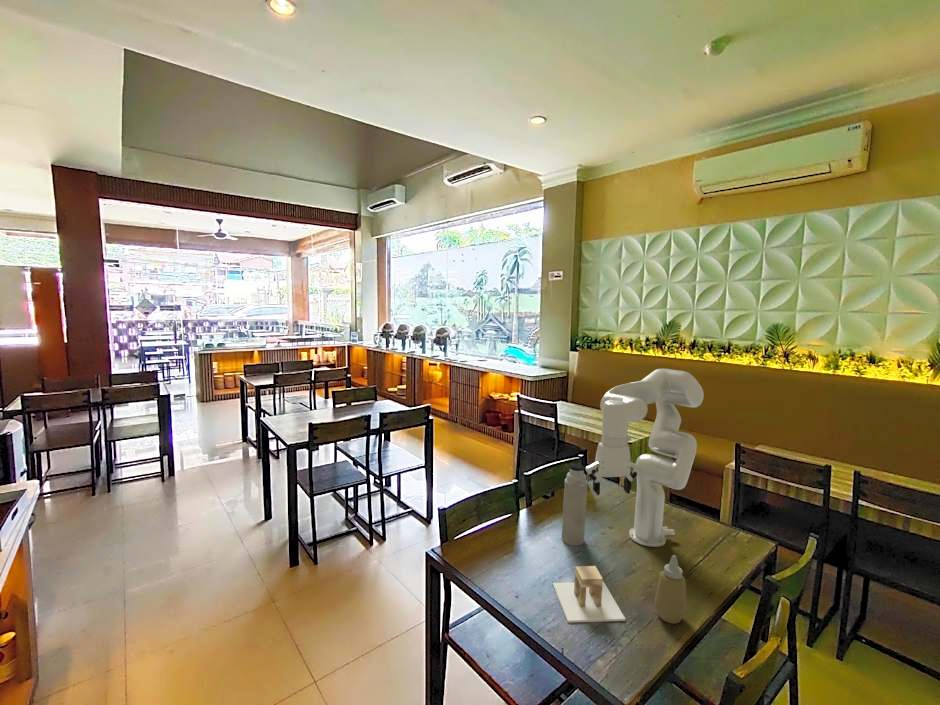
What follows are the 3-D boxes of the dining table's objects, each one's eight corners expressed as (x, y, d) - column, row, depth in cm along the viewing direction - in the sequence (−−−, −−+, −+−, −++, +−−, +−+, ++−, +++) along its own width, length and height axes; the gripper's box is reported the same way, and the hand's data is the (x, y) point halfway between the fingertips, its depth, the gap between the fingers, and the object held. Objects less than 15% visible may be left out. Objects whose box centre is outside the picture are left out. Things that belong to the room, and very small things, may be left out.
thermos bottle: (560, 533, 166) (564, 461, 163) (582, 534, 166) (586, 462, 162) (562, 544, 159) (566, 469, 155) (585, 546, 158) (590, 470, 154)
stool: (593, 592, 132) (595, 566, 131) (601, 606, 126) (602, 578, 125) (573, 593, 132) (575, 566, 131) (580, 607, 126) (582, 579, 125)
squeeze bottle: (648, 607, 127) (653, 548, 125) (675, 606, 128) (680, 547, 126) (662, 628, 119) (668, 565, 117) (691, 626, 120) (697, 564, 118)
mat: (603, 583, 138) (603, 581, 137) (625, 620, 122) (625, 618, 122) (552, 584, 136) (552, 582, 136) (567, 622, 120) (568, 620, 120)
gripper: (635, 435, 142) (633, 486, 144) (582, 437, 141) (581, 488, 143) (646, 443, 134) (643, 496, 137) (591, 445, 133) (589, 499, 136)
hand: (611, 492), depth 140 cm, fingers open, 9 cm apart
